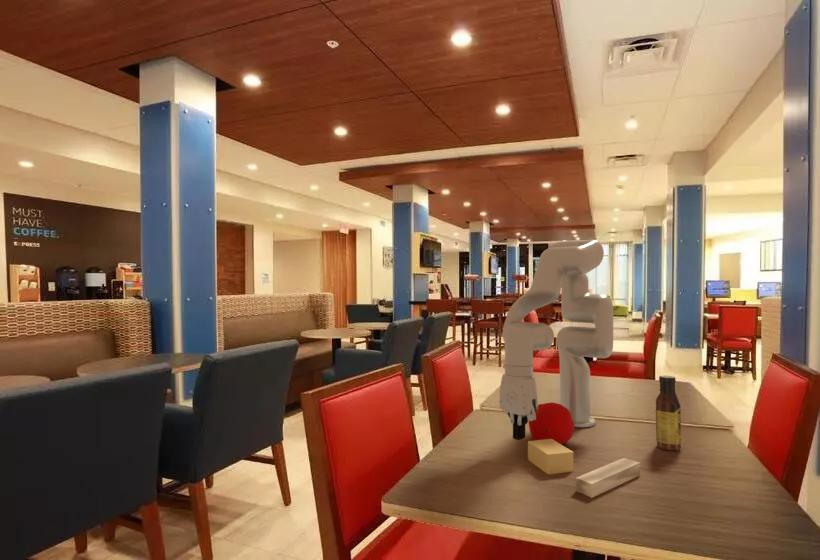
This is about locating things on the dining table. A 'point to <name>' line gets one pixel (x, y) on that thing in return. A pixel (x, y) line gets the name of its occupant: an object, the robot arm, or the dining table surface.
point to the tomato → (552, 423)
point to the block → (550, 456)
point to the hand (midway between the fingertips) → (519, 438)
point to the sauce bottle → (668, 415)
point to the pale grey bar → (607, 477)
